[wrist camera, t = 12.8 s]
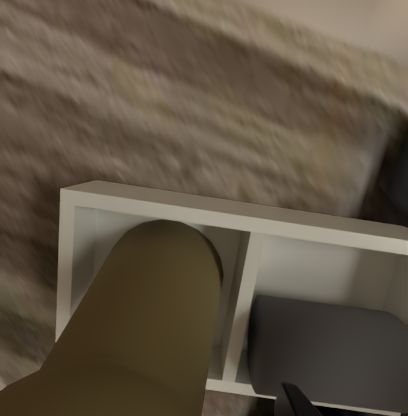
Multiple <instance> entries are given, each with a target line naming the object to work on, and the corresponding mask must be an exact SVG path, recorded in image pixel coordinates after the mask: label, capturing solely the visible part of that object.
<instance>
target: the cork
mask: <svg viewBox="0 0 408 416" xmlns="http://www.w3.org/2000/svg"><path fill="white" fill-rule="evenodd" d="M223 276H224V273H223V268H222V263H221V258H220V256H219V254H218V252H217V251H216V249H215V247H214V245H213V244H212V242H211V241H210V240H209V239H208V238H207V237H206V236H204V235H203V234H202V233H201V232H200V231H199V230H198V229H196V228H193V227H191V226H189V225H187V224H185V223H182V222H180V221H172V220H164V219H160V220H154V221H149V222H143V223H141V224H139V225H137V226H136V227H134V228H132V229H130V230H128V231H127V232H126V233H125V234H124V235H123V236H122V237H121V238H120V239H119V240H118V242H117V243H116V244H115V245H114V247H113V248H112V250H111V252H110V253H109V255H108V257H107V258H106V260H105V262H104V263H103V265H102V267H101V268H100V270H99V272H98V273H97V275H96V277H95V278H94V280H93V282H92V283H91V285H90V287H89V288H88V290H87V292H86V293H85V295H84V297H83V298H82V300H81V302H80V303H79V305H78V307H77V308H76V310H75V312H74V313H73V315H72V317H71V318H70V320H69V322H68V323H67V325H66V327H65V328H64V330H63V332H62V333H61V335H60V337H59V338H58V340H57V342H56V343H55V345H54V347H53V349H52V350H51V352H50V354H49V355H48V357H47V359H46V360H45V362H44V364H43V365H42V367H41V369H40V370H39V371H37V372H34V373H32V374H30V375H28V376H26V377H24V378H22V379H20V380H18V381H16V382H14V383H12V384H10V385H8V386H7V387H5V388H4V389H3V390H1V391H0V416H201V413H202V407H203V401H204V395H205V389H206V382H207V376H208V370H209V364H210V358H211V351H212V345H213V339H214V333H215V327H216V321H217V314H218V308H219V302H220V296H221V290H222V283H223Z"/></svg>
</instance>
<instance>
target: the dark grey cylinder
mask: <svg viewBox="0 0 408 416" xmlns="http://www.w3.org/2000/svg"><path fill="white" fill-rule="evenodd" d="M247 349H248V368H249V376H250V381H251V385H252V388H253V390H254V392H255V393H256V394H258V395H266V396H274V397H277V393H278V389H279V386H280V384H281V383H282V382H285V383H292V384H295V385H296V386H297V387H298V388H299V389H300V390H301V391H302V392H303V393H304V395H305V396H306V397H307V398H308V399H309V400H310V401H312V402H320V403H328V404H335V405H343V406H351V407H359V408H366V409H374V410H382V411H390V412H397V413H408V328H407V326H406V325H405V324H404V323H403V322H402V321H401V320H400V319H399V318H398V317H396V316H395V315H393V314H391V313H389V312H386V311H379V310H372V309H364V308H357V307H349V306H341V305H334V304H326V303H318V302H311V301H303V300H296V299H288V298H280V297H273V296H265V295H258V296H257V297H256V298H255V300H254V302H253V305H252V309H251V314H250V319H249V327H248V348H247Z"/></svg>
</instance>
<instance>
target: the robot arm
mask: <svg viewBox="0 0 408 416" xmlns="http://www.w3.org/2000/svg"><path fill="white" fill-rule="evenodd" d="M274 414H275V416H322V414H321V413H320V412H319V411H318V410H317V409H316V407H315V406H314V405H313V404H312V403H311V402H310V400H309V399H308V398H307V397H306V396H305V395H304V393H303V392H302V391H301V390H300V389H299V388H298V387H297V386H296V385H295V384H292V383H285V382H282V383H281V384H280V386H279V389H278V393H277V397H276V401H275V407H274Z"/></svg>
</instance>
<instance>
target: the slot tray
mask: <svg viewBox="0 0 408 416" xmlns="http://www.w3.org/2000/svg"><path fill="white" fill-rule="evenodd" d="M160 219H164V220H172V221H180V222H182V223H185V224H187V225H189V226H191V227H193V228H196V229H198V230H199V231H200V232H201V233H202V234H203V235H204V236H206V237H207V238H208V239H209V240H210V241H211V242H212V244H213V245H214V247H215V249H216V251H217V252H218V254H219V256H220V258H221V263H222V268H223V273H224V276H223V283H222V290H221V296H220V302H219V308H218V314H217V321H216V327H215V333H214V339H213V345H212V351H211V358H210V364H209V370H208V376H207V382H206V389H208V390H215V391H222V392H229V393H236V394H243V395H250V396H257V397H264V398H271V399H276V397H274V396H266V395H258V394H256V393H255V392H254V390H253V388H252V385H251V381H250V376H249V368H248V349H247V348H248V327H249V319H250V314H251V309H252V305H253V302H254V300H255V298H256V297H257V296H258V295H265V296H273V297H280V298H288V299H296V300H303V301H311V302H318V303H326V304H334V305H341V306H349V307H357V308H364V309H372V310H379V311H386V312H389V313H391V314H393V315H395V316H396V317H398V318H399V319H400V320H401V321H402V322H403V323H404V324H405V325H406V326H407V328H408V228H406V227H404V226H399V225H393V224H386V223H379V222H373V221H366V220H359V219H353V218H346V217H340V216H333V215H326V214H320V213H313V212H306V211H300V210H293V209H286V208H280V207H273V206H266V205H260V204H253V203H246V202H240V201H233V200H227V199H220V198H213V197H207V196H200V195H193V194H187V193H180V192H173V191H167V190H160V189H153V188H147V187H140V186H133V185H127V184H120V183H114V182H107V181H100V180H95V181H91V182H86V183H82V184H78V185H74V186H69V187H65V188H61V189H60V220H59V251H58V282H57V312H56V342H57V340H58V338H59V337H60V335H61V333H62V332H63V330H64V328H65V327H66V325H67V323H68V322H69V320H70V318H71V317H72V315H73V313H74V312H75V310H76V308H77V307H78V305H79V303H80V302H81V300H82V298H83V297H84V295H85V293H86V292H87V290H88V288H89V287H90V285H91V283H92V282H93V280H94V278H95V277H96V275H97V273H98V272H99V270H100V268H101V267H102V265H103V263H104V262H105V260H106V258H107V257H108V255H109V253H110V252H111V250H112V248H113V247H114V245H115V244H116V243H117V242H118V240H119V239H120V238H121V237H122V236H123V235H124V234H125V233H126V232H127V231H128V230H130V229H132V228H134V227H136V226H137V225H139V224H141V223H143V222H149V221H154V220H160ZM310 402H311V403H312V404H313V405H320V406H327V407H334V408H341V409H348V410H355V411H362V412H369V413H376V414H383V415H390V416H400V415H401V413H397V412H390V411H382V410H374V409H366V408H359V407H351V406H343V405H335V404H328V403H320V402H312V401H310Z"/></svg>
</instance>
